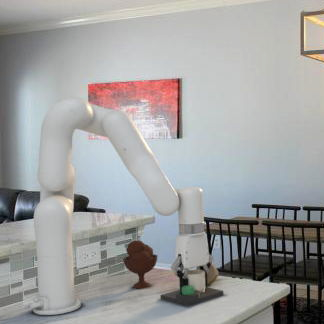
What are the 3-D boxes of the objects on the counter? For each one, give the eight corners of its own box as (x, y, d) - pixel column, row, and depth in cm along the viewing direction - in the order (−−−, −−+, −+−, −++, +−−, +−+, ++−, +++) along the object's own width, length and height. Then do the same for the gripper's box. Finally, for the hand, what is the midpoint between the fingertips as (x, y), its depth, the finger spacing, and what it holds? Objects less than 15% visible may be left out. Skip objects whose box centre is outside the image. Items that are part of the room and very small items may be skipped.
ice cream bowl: (152, 291, 168) (150, 243, 167) (118, 290, 170) (116, 243, 169) (164, 282, 178) (162, 237, 178) (132, 282, 180) (130, 237, 180)
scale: (187, 308, 149) (187, 297, 149) (158, 300, 158) (158, 290, 157) (225, 295, 160) (225, 285, 160) (196, 289, 168) (195, 279, 168)
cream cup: (193, 294, 157) (192, 276, 157) (177, 291, 161) (177, 272, 161) (210, 289, 162) (209, 271, 162) (194, 286, 167) (194, 268, 166)
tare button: (187, 296, 151) (187, 289, 151) (179, 294, 153) (179, 287, 153) (197, 293, 154) (197, 286, 154) (188, 291, 156) (188, 284, 156)
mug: (224, 278, 181) (224, 256, 176) (212, 298, 173) (212, 275, 168) (203, 272, 183) (203, 249, 178) (190, 291, 176) (190, 268, 170)
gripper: (204, 224, 170) (206, 280, 171) (160, 232, 157) (163, 293, 158) (221, 225, 165) (223, 284, 166) (177, 234, 152) (179, 297, 153)
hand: (193, 287), depth 162 cm, fingers closed on cream cup, 6 cm apart
